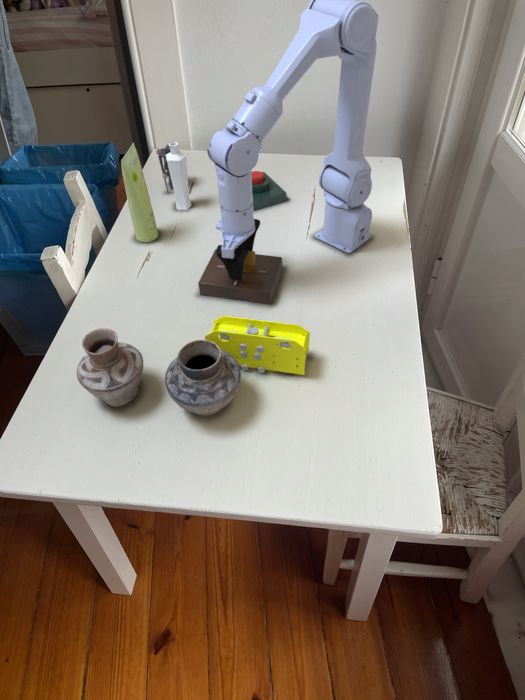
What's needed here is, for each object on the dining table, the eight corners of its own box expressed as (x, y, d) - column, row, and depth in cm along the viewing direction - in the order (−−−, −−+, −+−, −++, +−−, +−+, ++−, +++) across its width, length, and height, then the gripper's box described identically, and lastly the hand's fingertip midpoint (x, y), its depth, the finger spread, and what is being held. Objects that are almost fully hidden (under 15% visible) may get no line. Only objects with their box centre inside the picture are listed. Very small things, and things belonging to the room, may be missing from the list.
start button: (266, 182, 115) (266, 175, 114) (252, 186, 114) (252, 179, 113) (259, 176, 118) (259, 169, 116) (246, 180, 116) (245, 173, 115)
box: (286, 200, 116) (286, 185, 113) (248, 211, 113) (248, 196, 110) (264, 179, 124) (263, 164, 121) (228, 189, 121) (226, 174, 118)
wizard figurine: (165, 180, 125) (156, 133, 116) (187, 179, 125) (180, 132, 116) (162, 197, 119) (153, 149, 110) (185, 196, 119) (177, 148, 110)
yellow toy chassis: (208, 366, 81) (202, 331, 75) (217, 342, 85) (212, 307, 78) (303, 380, 78) (305, 344, 72) (308, 354, 82) (310, 319, 76)
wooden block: (256, 268, 94) (255, 250, 91) (254, 273, 93) (253, 255, 90) (228, 265, 95) (227, 247, 92) (226, 270, 94) (224, 252, 91)
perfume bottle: (194, 201, 117) (185, 139, 106) (191, 210, 114) (181, 148, 103) (176, 200, 118) (165, 139, 107) (172, 210, 115) (160, 147, 104)
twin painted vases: (102, 364, 82) (81, 312, 73) (248, 376, 79) (244, 323, 70) (76, 419, 74) (49, 368, 66) (236, 434, 72) (230, 383, 63)
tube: (163, 239, 107) (145, 152, 92) (142, 247, 105) (120, 160, 91) (152, 227, 110) (133, 142, 96) (132, 235, 108) (109, 149, 94)
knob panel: (282, 269, 98) (282, 256, 96) (270, 304, 91) (270, 291, 89) (216, 261, 101) (215, 248, 98) (200, 294, 94) (197, 282, 91)
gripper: (225, 180, 89) (231, 243, 99) (201, 223, 79) (210, 288, 89) (263, 184, 88) (265, 247, 97) (242, 228, 78) (246, 293, 88)
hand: (241, 267), depth 93 cm, fingers open, 7 cm apart
